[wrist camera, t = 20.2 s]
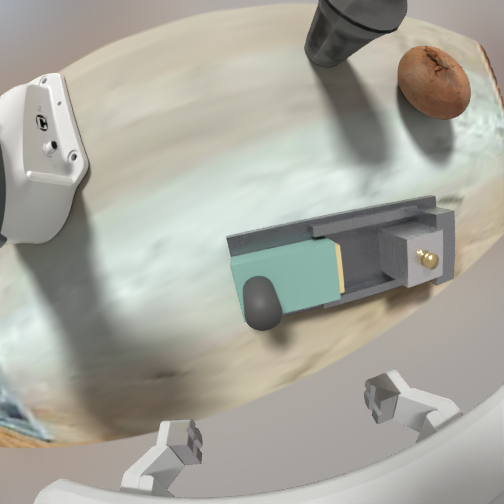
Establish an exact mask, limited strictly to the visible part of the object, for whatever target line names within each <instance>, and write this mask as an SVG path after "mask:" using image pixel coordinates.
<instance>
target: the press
mask: <svg viewBox="0 0 504 504" xmlns="http://www.w3.org/2000/svg"><path fill="white" fill-rule="evenodd" d="M409 221H413V222H417V223H420V224H424V225H427V226H431V227H434V228H438V229H441V230H443V273H442V276H440V277H437V278H434V279H432V280H429V281H430V282H431V283H433V284H435V285H439V284H441V283H444V282H446V281H449V280H451V279H454V262H455V219H454V211H453V210H448V209H443V208H438V207H436V199H435V196H431V195H430V196H425V197H419V198H413V199H408V200H402V201H397V202H391V203H386V204H381V205H375V206H370V207H365V208H360V209H354V210H349V211H344V212H339V213H334V214H329V215H324V216H319V217H314V218H309V219H304V220H300V221H295V222H290V223H285V224H280V225H276V226H271V227H266V228H262V229H257V230H252V231H248V232H243V233H239V234H234V235H230V236H227V242H228V247H229V251H230V255H231V257H233V256H238V255H243V254H247V253H252V252H256V251H261V250H265V249H270V248H275V247H279V246H284V245H288V244H293V243H297V242H302V241H306V240H311V239H316V238H320V237H327V238H328V239H330V240H332V241H333V242H335V243H337V244H338V245H340V250H341V259H342V268H343V278H344V290H345V292H343V293H340V296H341V299H339V300H335V301H332V302H328V303H324V304H320V305H316V306H312V307H308V308H304V309H300V310H296V311H292V312H288V313H284V314H282V316H286V315H290V314H294V313H298V312H302V311H306V310H310V309H314V308H318V307H323V308H324V309H325V308H328V307H332V306H336V305H339V304H343V303H347V302H350V301H354V300H357V299H360V298H364V297H367V296H370V295H374V294H377V293H380V292H383V291H386V290H390V289H393V288H396V287H399V286H402V284H401V283H400V282H398V281H397V280H395V279H394V278H392V277H391V276H389V275H387V274H386V273H384V272H383V271H381V267H380V251H379V238H378V228H383V227H387V226H391V225H396V224H400V223H405V222H409Z"/></svg>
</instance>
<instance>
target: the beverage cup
mask: <svg viewBox="0 0 504 504" xmlns="http://www.w3.org/2000/svg"><path fill="white" fill-rule="evenodd" d="M406 13H407V0H319V3H318V6H317V9H316V12H315V15H314V18H313V21H312V24H311V27H310V29H309V32H308V35H307V39H306V43H305V47H304V48H305V53H306V55H307V57H308V58H309V59H310V60H311V61H312V62H314V63H315V64H317V65H319V66H322V67H334V66H336V65H337V64H339V63H340V62H342V61H344V60H345V59H347V58H348V57H349V56H351V55H352V54H354V53H355V52H356V51H358V50H359V49H361V48H362V47H364V46H365V45H366V44H368V43H369V42H371V41H372V40H374V39H375V38H378V37H381V36H383V35H385V34H389V33H391V32H394V31H396V30H397V29H398V27H399V25H400V24H401V22H402V21H403V19H404V17H405V16H406Z"/></svg>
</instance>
